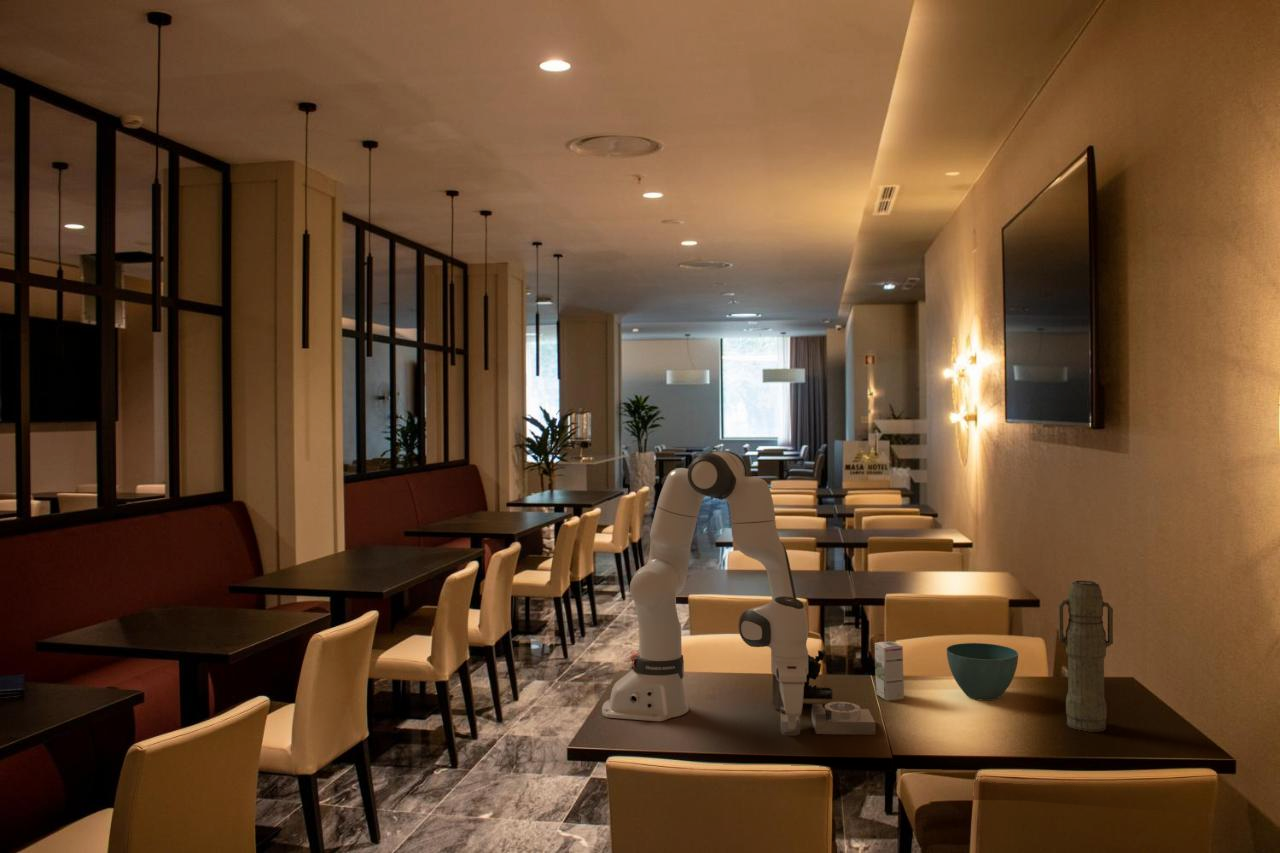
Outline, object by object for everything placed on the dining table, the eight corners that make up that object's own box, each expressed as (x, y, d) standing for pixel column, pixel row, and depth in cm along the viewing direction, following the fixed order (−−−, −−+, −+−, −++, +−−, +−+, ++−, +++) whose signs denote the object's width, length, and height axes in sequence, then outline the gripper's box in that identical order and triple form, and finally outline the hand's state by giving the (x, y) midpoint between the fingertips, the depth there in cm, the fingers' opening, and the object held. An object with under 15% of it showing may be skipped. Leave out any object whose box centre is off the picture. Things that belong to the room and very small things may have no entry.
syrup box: (904, 699, 252) (904, 645, 252) (884, 701, 251) (884, 646, 251) (894, 693, 258) (893, 640, 258) (874, 695, 257) (873, 642, 256)
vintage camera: (832, 715, 242) (834, 637, 242) (771, 709, 245) (773, 633, 245) (832, 704, 251) (834, 629, 251) (773, 699, 254) (775, 625, 254)
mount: (816, 734, 226) (815, 713, 226) (811, 720, 236) (811, 700, 236) (875, 734, 225) (875, 713, 225) (868, 721, 235) (868, 701, 235)
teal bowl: (954, 705, 247) (954, 658, 247) (940, 685, 265) (940, 641, 265) (1027, 707, 245) (1026, 660, 244) (1008, 686, 263) (1007, 642, 262)
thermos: (1117, 733, 224) (1117, 586, 223) (1064, 730, 227) (1063, 584, 226) (1108, 721, 232) (1107, 579, 232) (1056, 718, 235) (1055, 578, 235)
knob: (781, 735, 225) (780, 710, 225) (779, 729, 230) (779, 704, 230) (801, 736, 225) (801, 711, 225) (799, 729, 230) (799, 704, 230)
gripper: (773, 654, 238) (774, 709, 238) (779, 677, 218) (780, 736, 218) (798, 654, 238) (799, 709, 238) (807, 677, 217) (807, 737, 217)
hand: (790, 722), depth 228 cm, fingers open, 6 cm apart
